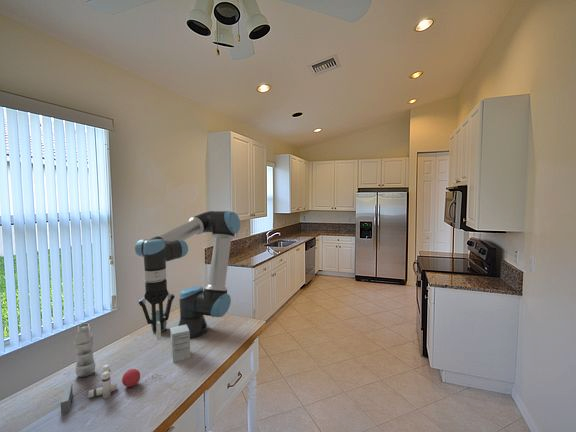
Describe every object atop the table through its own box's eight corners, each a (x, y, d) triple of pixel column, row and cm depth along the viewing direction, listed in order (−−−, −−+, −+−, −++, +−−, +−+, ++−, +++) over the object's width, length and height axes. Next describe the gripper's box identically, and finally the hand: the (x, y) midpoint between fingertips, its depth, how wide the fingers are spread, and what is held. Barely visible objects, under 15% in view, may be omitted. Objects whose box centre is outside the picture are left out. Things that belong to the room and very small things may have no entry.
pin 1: (111, 385, 108) (110, 363, 108) (110, 389, 106) (109, 366, 106) (103, 387, 107) (102, 365, 106) (103, 391, 105) (101, 368, 104)
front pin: (116, 381, 107) (88, 389, 102) (116, 385, 105) (88, 393, 100) (116, 387, 107) (89, 395, 103) (117, 391, 105) (88, 400, 101)
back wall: (72, 394, 103) (72, 383, 103) (68, 412, 95) (68, 400, 95) (65, 396, 102) (65, 385, 102) (61, 414, 94) (60, 402, 94)
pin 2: (110, 393, 104) (109, 370, 103) (110, 397, 102) (109, 373, 101) (102, 395, 103) (101, 372, 102) (102, 399, 101) (101, 376, 100)
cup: (169, 330, 153) (169, 312, 152) (154, 335, 147) (154, 316, 147) (163, 326, 158) (162, 308, 158) (148, 331, 152) (147, 312, 152)
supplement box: (170, 354, 130) (169, 327, 129) (188, 350, 133) (187, 323, 132) (172, 362, 123) (171, 334, 122) (190, 358, 126) (189, 330, 126)
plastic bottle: (85, 380, 111) (83, 330, 110) (71, 378, 113) (68, 328, 111) (99, 370, 118) (97, 322, 116) (85, 368, 119) (83, 321, 118)
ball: (118, 375, 108) (129, 385, 110) (118, 384, 103) (130, 393, 105) (132, 362, 111) (143, 372, 113) (133, 370, 106) (144, 379, 108)
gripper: (137, 285, 104) (140, 348, 106) (175, 279, 111) (177, 338, 113) (136, 280, 111) (139, 339, 113) (172, 275, 118) (174, 331, 119)
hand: (158, 338), depth 113 cm, fingers closed
